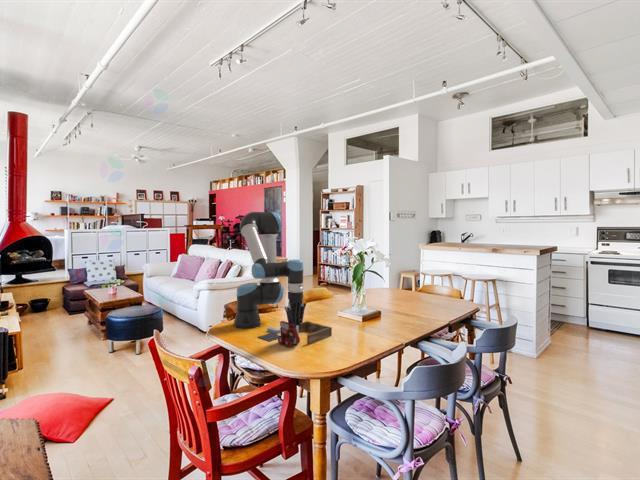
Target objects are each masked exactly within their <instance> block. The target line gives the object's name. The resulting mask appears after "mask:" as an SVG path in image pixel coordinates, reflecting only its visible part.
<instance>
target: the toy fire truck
mask: <svg viewBox="0 0 640 480" xmlns="http://www.w3.org/2000/svg"><path fill="white" fill-rule="evenodd" d="M280 327H281V332H280V335H279V337H278V339H277V342H278V343H279V344H280V345H283V344H284V346H285V347H286V348H290V347H291V346H292V345H293V344H294V345H297V344H299V343H300V342H301V338H300V335H299V336H298V333H297V329H296V328H294V327H295V325H294V324H291V323H288V321H285V320H280V323H279V328H280Z"/></svg>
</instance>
